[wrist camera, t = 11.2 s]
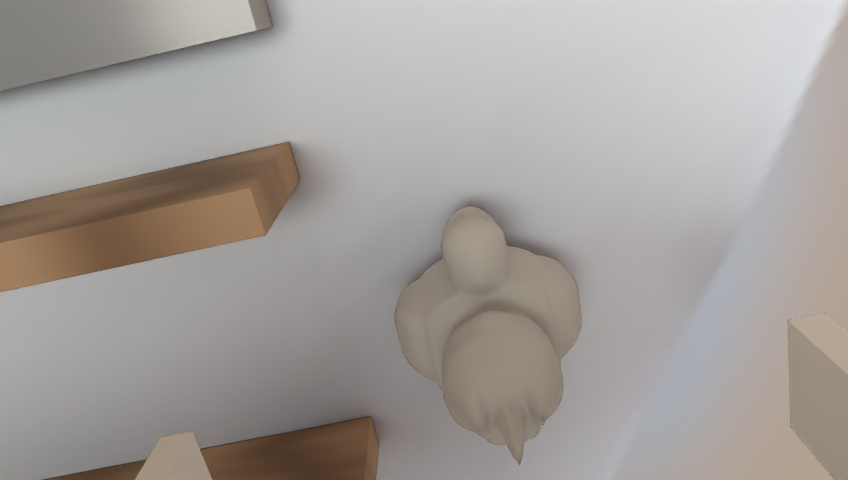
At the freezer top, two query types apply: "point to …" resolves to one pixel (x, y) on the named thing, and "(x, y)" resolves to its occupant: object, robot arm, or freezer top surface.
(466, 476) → the freezer top surface
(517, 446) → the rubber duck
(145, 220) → the shelf bay
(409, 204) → the freezer top surface
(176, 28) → the slate pad
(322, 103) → the freezer top surface
